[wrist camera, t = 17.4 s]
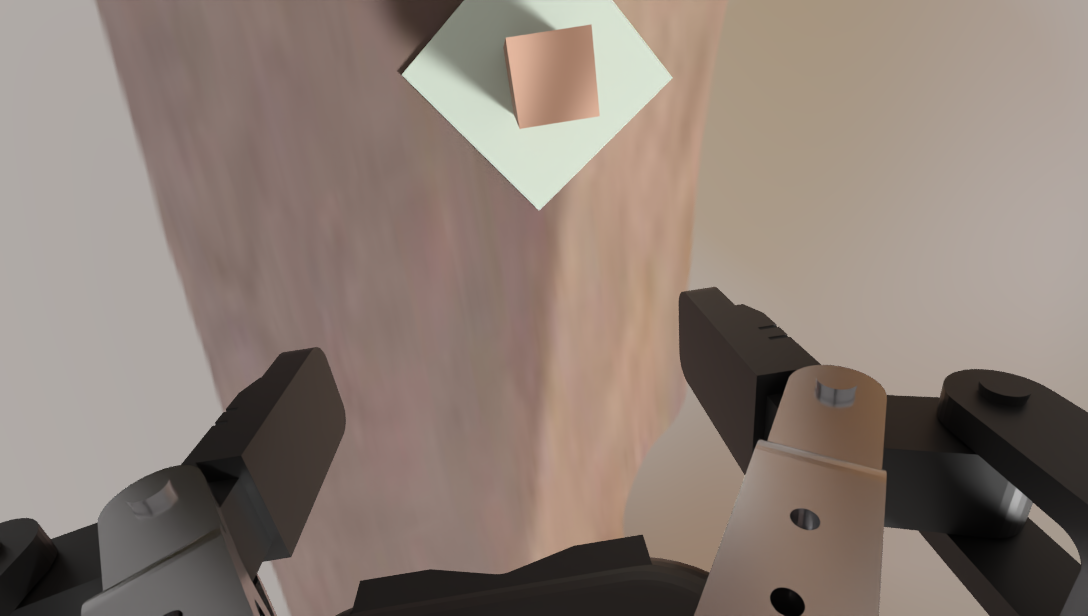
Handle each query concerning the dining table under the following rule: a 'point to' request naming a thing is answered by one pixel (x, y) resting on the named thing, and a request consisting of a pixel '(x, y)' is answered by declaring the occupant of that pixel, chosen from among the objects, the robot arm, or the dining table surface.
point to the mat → (484, 94)
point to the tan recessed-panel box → (552, 76)
